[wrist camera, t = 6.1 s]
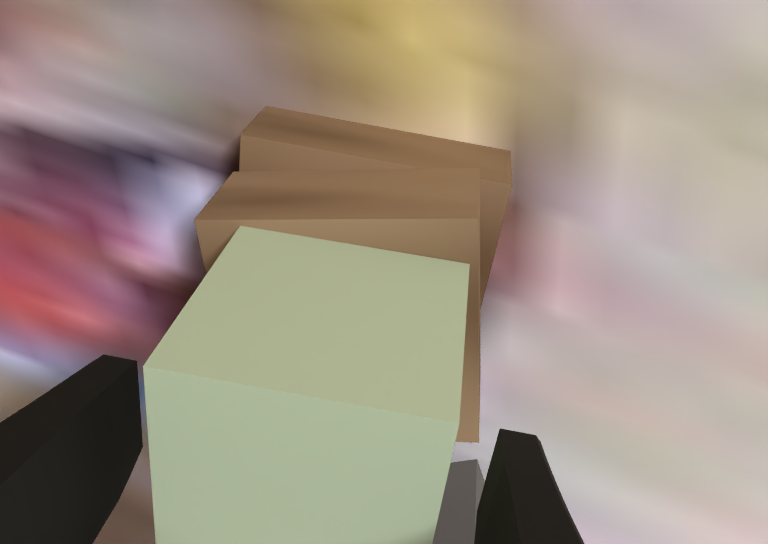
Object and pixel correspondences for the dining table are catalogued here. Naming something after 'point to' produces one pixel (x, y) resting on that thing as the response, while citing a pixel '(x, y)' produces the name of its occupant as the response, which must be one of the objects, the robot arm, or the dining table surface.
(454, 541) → the charcoal block
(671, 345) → the dining table surface
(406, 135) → the base slab
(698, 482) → the dining table surface
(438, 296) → the green cube
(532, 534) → the robot arm
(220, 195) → the top slab
